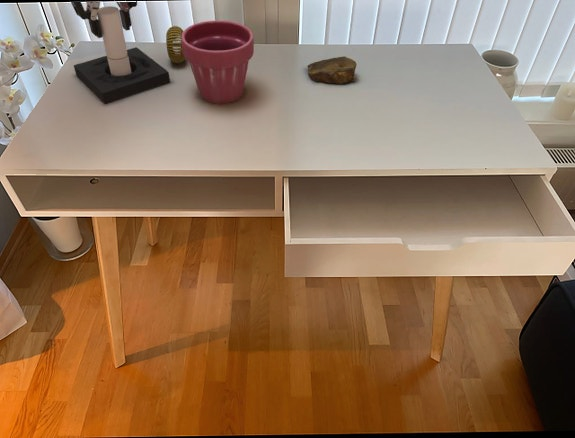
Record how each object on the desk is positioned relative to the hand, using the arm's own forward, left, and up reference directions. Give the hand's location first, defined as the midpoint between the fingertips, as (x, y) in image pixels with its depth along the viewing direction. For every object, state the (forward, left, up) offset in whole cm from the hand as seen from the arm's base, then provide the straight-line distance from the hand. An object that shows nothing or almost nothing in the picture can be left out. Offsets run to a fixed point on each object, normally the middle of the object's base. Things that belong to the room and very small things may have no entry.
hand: (112, 32), depth 105 cm
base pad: (0, 0, -10) cm, 10 cm away
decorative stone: (+38, -26, -11) cm, 47 cm away
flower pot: (+14, -18, -11) cm, 25 cm away
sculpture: (+14, 0, -11) cm, 18 cm away
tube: (0, 0, -11) cm, 11 cm away
